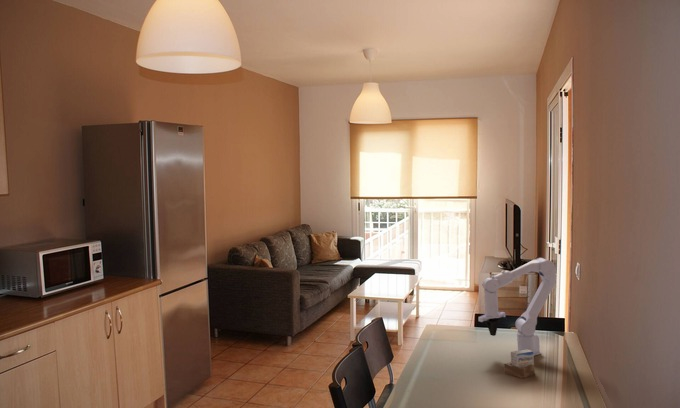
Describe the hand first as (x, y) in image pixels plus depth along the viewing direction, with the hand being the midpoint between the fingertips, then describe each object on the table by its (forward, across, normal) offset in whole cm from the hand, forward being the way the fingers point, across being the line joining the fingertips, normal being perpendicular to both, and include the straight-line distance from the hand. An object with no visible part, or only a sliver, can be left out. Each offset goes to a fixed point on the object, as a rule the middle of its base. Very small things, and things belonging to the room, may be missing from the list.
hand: (493, 335), depth 242 cm
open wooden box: (+9, -8, -22) cm, 26 cm away
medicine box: (+10, -6, -23) cm, 25 cm away
